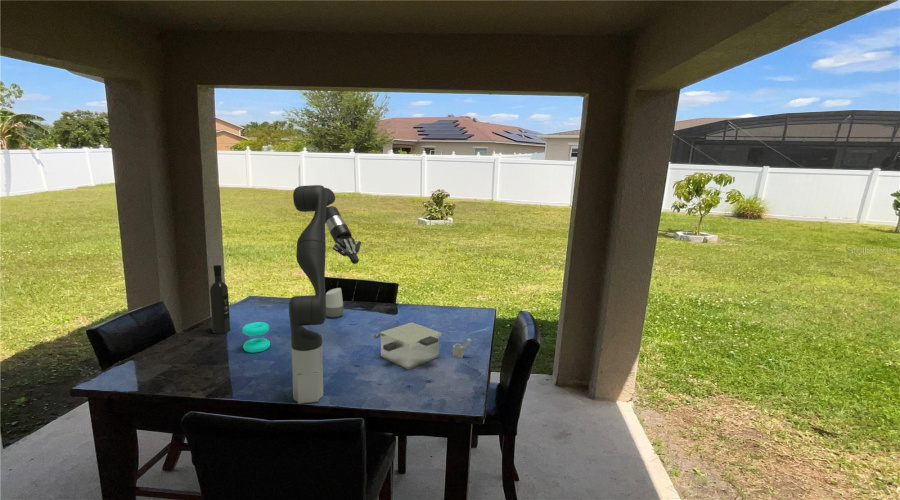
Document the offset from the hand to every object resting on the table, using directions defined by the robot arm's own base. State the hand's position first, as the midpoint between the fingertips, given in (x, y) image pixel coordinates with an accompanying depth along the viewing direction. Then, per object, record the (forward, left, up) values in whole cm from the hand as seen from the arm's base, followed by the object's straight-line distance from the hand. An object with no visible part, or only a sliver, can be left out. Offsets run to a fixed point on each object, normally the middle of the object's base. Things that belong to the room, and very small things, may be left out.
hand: (356, 262), depth 174 cm
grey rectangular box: (-14, -19, -36) cm, 43 cm away
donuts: (+9, +39, -36) cm, 54 cm away
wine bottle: (+33, +56, -36) cm, 74 cm away
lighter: (-19, -39, -36) cm, 56 cm away
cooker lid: (-16, -20, -27) cm, 37 cm away
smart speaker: (+44, +7, -36) cm, 57 cm away
